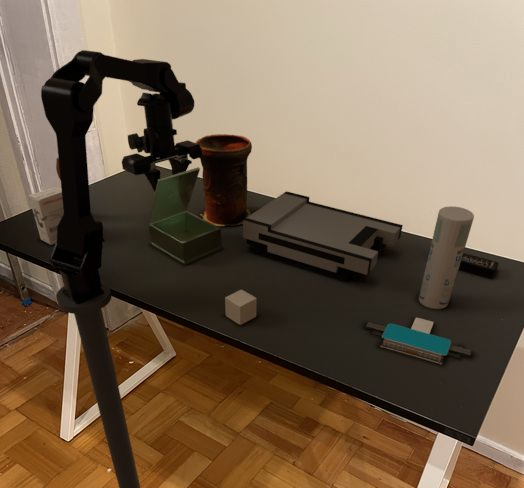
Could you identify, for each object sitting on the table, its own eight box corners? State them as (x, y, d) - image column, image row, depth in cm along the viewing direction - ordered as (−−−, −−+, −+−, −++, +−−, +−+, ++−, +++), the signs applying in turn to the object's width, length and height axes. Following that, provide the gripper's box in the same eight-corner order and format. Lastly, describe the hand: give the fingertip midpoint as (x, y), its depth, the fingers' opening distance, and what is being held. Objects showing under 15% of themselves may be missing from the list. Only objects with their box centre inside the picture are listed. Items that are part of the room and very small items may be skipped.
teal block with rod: (475, 336, 102) (477, 329, 101) (465, 372, 94) (467, 365, 93) (376, 309, 109) (377, 303, 108) (358, 341, 100) (359, 334, 99)
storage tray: (221, 249, 128) (220, 228, 125) (184, 265, 122) (182, 243, 118) (187, 231, 135) (186, 210, 132) (151, 245, 129) (148, 224, 126)
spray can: (444, 312, 108) (470, 223, 96) (414, 304, 111) (435, 215, 98) (452, 298, 113) (477, 210, 100) (422, 289, 115) (443, 203, 102)
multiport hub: (436, 254, 128) (438, 245, 126) (496, 270, 122) (499, 262, 121) (430, 261, 125) (432, 252, 124) (491, 279, 119) (494, 270, 118)
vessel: (216, 201, 150) (213, 129, 138) (260, 211, 146) (261, 137, 133) (189, 221, 140) (183, 145, 128) (236, 232, 136) (234, 154, 123)
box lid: (200, 168, 120) (188, 154, 121) (159, 181, 114) (147, 165, 115) (186, 210, 132) (175, 196, 133) (149, 223, 125) (138, 209, 126)
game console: (364, 289, 115) (370, 256, 110) (243, 251, 128) (243, 220, 122) (397, 251, 129) (403, 220, 123) (285, 220, 141) (286, 191, 136)
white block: (240, 325, 104) (240, 306, 101) (225, 315, 106) (224, 297, 103) (256, 316, 106) (256, 298, 103) (241, 307, 109) (241, 289, 106)
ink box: (69, 228, 136) (59, 184, 128) (80, 234, 133) (70, 189, 126) (39, 239, 131) (27, 194, 123) (50, 245, 128) (38, 200, 121)
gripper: (172, 110, 124) (179, 175, 134) (103, 125, 114) (115, 194, 124) (201, 119, 118) (206, 187, 128) (130, 135, 108) (141, 207, 117)
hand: (167, 193), depth 124 cm, fingers closed on box lid, 5 cm apart
